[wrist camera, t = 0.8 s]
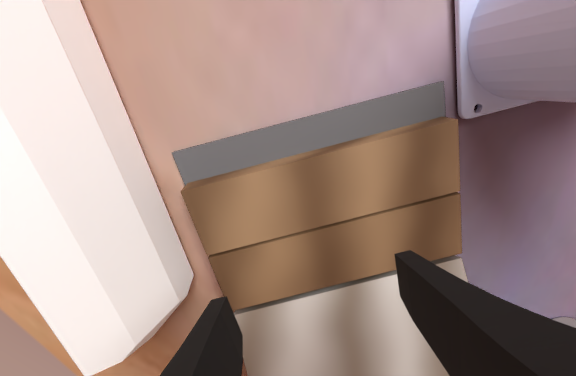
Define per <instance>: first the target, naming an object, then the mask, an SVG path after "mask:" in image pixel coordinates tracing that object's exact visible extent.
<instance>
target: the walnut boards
mask: <svg viewBox="0 0 576 376" xmlns="http://www.w3.org/2000/svg"><path fill="white" fill-rule="evenodd" d="M458 191H460V167H459V132H458V119H453V118H448V117H439V118H435V119H431V120H427V121H423V122H419V123H416V124H412V125H408V126H404V127H400V128H396V129H393V130H389V131H385V132H381V133H377V134H373V135H370V136H366V137H362V138H358V139H354V140H350V141H347V142H343V143H339V144H335V145H331V146H327V147H324V148H320V149H316V150H312V151H308V152H304V153H301V154H297V155H293V156H289V157H285V158H281V159H278V160H274V161H270V162H266V163H262V164H258V165H255V166H251V167H247V168H243V169H239V170H236V171H232V172H228V173H224V174H220V175H216V176H213V177H209V178H205V179H201V180H197V181H193V182H190V183H187V184H186V186H185V187H184V188H183V189H182V191H181V194H182V196H183V199H184V201H185V203H186V206H187V208H188V211H189V213H190V215H191V218H192V220H193V223H194V225H195V227H196V230H197V232H198V235H199V237H200V240H201V242H202V244H203V247H204V249H205V252H206V254H207V256H208V255H209V258H208V259H209V261H210V264H211V266H212V268H213V271H214V273H215V276H216V278H217V280H218V283H219V285H220V288H221V290H222V292H223V295H224V297H225V296H227V298H228V301H229V303H230V306H231V308H232V310H233V311H234V310H238V309H242V308H246V307H250V306H254V305H258V304H262V303H266V302H270V301H274V300H278V299H282V298H286V297H290V296H294V295H298V294H302V293H306V292H310V291H314V290H318V289H322V288H326V287H330V286H334V285H338V284H342V283H345V282H349V281H353V280H357V279H361V278H365V277H369V276H373V275H377V274H381V273H385V272H389V271H393V270H396V262H395V255H394V254H396V253H400V252H404V251H408V250H411V251H413V252H415V253H416V254H418V255H420V256H422V257H423V258H425V259H427V260H428V261H433V260H437V259H441V258H445V257H449V256H453V255H457V254H461V253H462V238H461V202H460V193H458Z"/></svg>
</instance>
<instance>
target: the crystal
mask: <svg viewBox="0 0 576 376" xmlns="http://www.w3.org/2000/svg"><path fill="white" fill-rule="evenodd" d="M42 1H43V2H42ZM45 8H46V9H45ZM46 10H47V11H46ZM47 12H48V13H47ZM50 19H51V20H50ZM51 21H52V22H51ZM52 23H53V24H52ZM56 32H57V33H56ZM57 34H58V35H57ZM58 36H59V37H58ZM61 43H62V44H61ZM62 45H63V46H62ZM63 47H64V48H63ZM66 54H67V55H66ZM67 56H68V57H67ZM68 58H69V59H68ZM72 67H73V68H72ZM73 69H74V70H73ZM77 78H78V79H77ZM78 80H79V81H78ZM79 82H80V83H79ZM82 89H83V90H82ZM83 91H84V92H83ZM84 93H85V94H84ZM88 102H89V103H88ZM89 104H90V105H89ZM93 113H94V114H93ZM94 115H95V116H94ZM98 124H99V125H98ZM99 126H100V127H99ZM104 137H105V138H104ZM105 139H106V140H105ZM109 148H110V149H109ZM110 150H111V151H110ZM114 159H115V160H114ZM115 161H116V162H115ZM120 172H121V173H120ZM125 183H126V184H125ZM130 194H131V195H130ZM131 196H132V197H131ZM136 207H137V208H136ZM141 218H142V219H141ZM146 229H147V230H146ZM157 253H158V254H157ZM0 256H1V258H2V259H3V261H4V262H5V264H6V265H7V266H8V268H9V269H10V271H11V272H12V274H13V275H14V277H15V278H16V279H17V281H18V282H19V284H20V285H21V287H22V288H23V289H24V291H25V292H26V294H27V295H28V297H29V298H30V299H31V301H32V302H33V304H34V305H35V307H36V308H37V309H38V311H39V312H40V314H41V315H42V317H43V318H44V319H45V321H46V322H47V324H48V325H49V327H50V328H51V330H52V331H53V332H54V334H55V335H56V337H57V338H58V340H59V341H60V342H61V344H62V345H63V347H64V348H65V350H66V351H67V352H68V354H69V355H70V357H71V358H72V360H73V361H74V362H75V364H76V365H77V367H78V368H79V369H80V371H81V372H82V374H83V375H84V376H91V375H94V374H96V373H98V372H100V371H102V370H105V369H107V368H109V367H111V366H113V365H116V364H118V363H120V362H122V361H123V360H125V359H126V358H127V357H128V356H130V355H131V354H132V353H133V352H134V351H136V350H137V349H138V348H139V347H141V346H142V345H143V344H144V343H146V342H147V341H148V340H149V339H151V338H152V337H153V336H154V335H155V333H156V332H157V331H158V330H159V329H160V327H161V326H162V325H163V324H164V323H165V321H166V320H167V319H168V318H169V317H170V315H171V314H172V313H173V312H174V311H175V309H176V308H177V307H178V306H179V305H180V304H181V302H182V301H183V300H184V299H185V298H186V296H187V294H188V291H189V288H190V285H191V282H192V279H193V276H194V274H193V271H192V269H191V267H190V264H189V262H188V259H187V257H186V255H185V252H184V250H183V247H182V245H181V243H180V240H179V238H178V235H177V233H176V231H175V228H174V226H173V223H172V221H171V219H170V216H169V214H168V211H167V209H166V207H165V204H164V202H163V199H162V197H161V194H160V192H159V190H158V187H157V185H156V182H155V180H154V178H153V175H152V173H151V170H150V168H149V166H148V163H147V161H146V158H145V156H144V154H143V151H142V149H141V146H140V144H139V142H138V139H137V137H136V134H135V132H134V129H133V127H132V125H131V122H130V120H129V117H128V115H127V113H126V110H125V108H124V105H123V103H122V101H121V98H120V96H119V93H118V91H117V89H116V86H115V84H114V81H113V79H112V77H111V74H110V72H109V69H108V67H107V65H106V62H105V60H104V57H103V55H102V52H101V50H100V48H99V45H98V43H97V40H96V38H95V36H94V33H93V31H92V28H91V26H90V24H89V21H88V19H87V16H86V14H85V12H84V9H83V7H82V4H81V2H80V0H0ZM162 264H163V265H162Z"/></svg>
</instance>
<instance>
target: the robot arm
mask: <svg viewBox="0 0 576 376" xmlns="http://www.w3.org/2000/svg"><path fill="white" fill-rule="evenodd" d="M455 27H456V63H457V98H458V115H459V116H460V117H461V118H463V119H471V118H475V117H479V116H482V115H486V114H490V113H494V112H498V111H502V110H505V109H509V108H513V107H517V106H521V105H525V104H528V103H532V102H536V101H558V102H576V0H455ZM476 105H478V108H477V110H476V111H475V112H474V107H475V106H476ZM394 255H395V262H396V270H397V278H398V285H399V293H400V297H401V299H402V301H403V303H404V305H405V307H406V309H407V311H408V313H409V315H410V316H411V318H412V320H413V322H414V323H415V325H416V326H417V328H418V329H419V331H420V332H421V334H422V335H423V337H424V338H425V340H426V341H427V343H428V344H429V346H430V347H431V349H432V350H433V352H434V353H435V355H436V356H437V358H438V359H439V361H440V362H441V364H442V365H443V367H444V368H445V370H446V371H447V373H448V374H449V376H576V328H575V327H572V326H569V325H566V324H563V323H560V322H558V321H555V320H552V319H549V318H547V317H544V316H541V315H539V314H536V313H534V312H531V311H529V310H527V309H524V308H522V307H519V306H517V305H514V304H512V303H510V302H507V301H505V300H503V299H501V298H499V297H496V296H494V295H492V294H490V293H488V292H486V291H484V290H482V289H480V288H478V287H476V286H474V285H472V284H470V283H468V282H466V281H464V280H462V279H460V278H458V277H457V276H455V275H453V274H451V273H449V272H448V271H446V270H444V269H442V268H440V267H439V266H437V265H435V264H434V263H432V262H430V261H428V260H427V259H425V258H423V257H422V256H420V255H418V254H416V253H415V252H413V251H411V250H408V251H404V252H400V253H396V254H394ZM242 364H243V335H242V332H241V330H240V327H239V325H238V323H237V320H236V318H235V315H234V313H233V310H232V308H231V306H230V303H229V301H228V298H227V296H225V297H221V298H218V299H214V300H211V301H210V303H209V304H208V306H207V307H206V309H205V310H204V312H203V314H202V315H201V317H200V318H199V320H198V321H197V323H196V324H195V326H194V327H193V329H192V331H191V332H190V334H189V335H188V337H187V338H186V340H185V341H184V342H183V344H182V345H181V347H180V348H179V350H178V351H177V353H176V354H175V355H174V357H173V358H172V360H171V361H170V362H169V364H168V365H167V366H166V368H165V369H164V371H163V372H162V373H161V375H160V376H241V374H242Z"/></svg>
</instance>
